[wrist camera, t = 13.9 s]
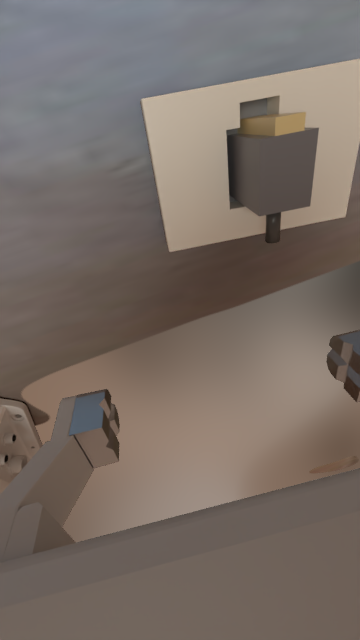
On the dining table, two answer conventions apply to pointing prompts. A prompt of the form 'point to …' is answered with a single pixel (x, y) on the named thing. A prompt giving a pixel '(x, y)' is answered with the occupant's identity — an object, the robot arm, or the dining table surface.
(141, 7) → the dining table surface
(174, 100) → the socket block
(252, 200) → the plug
